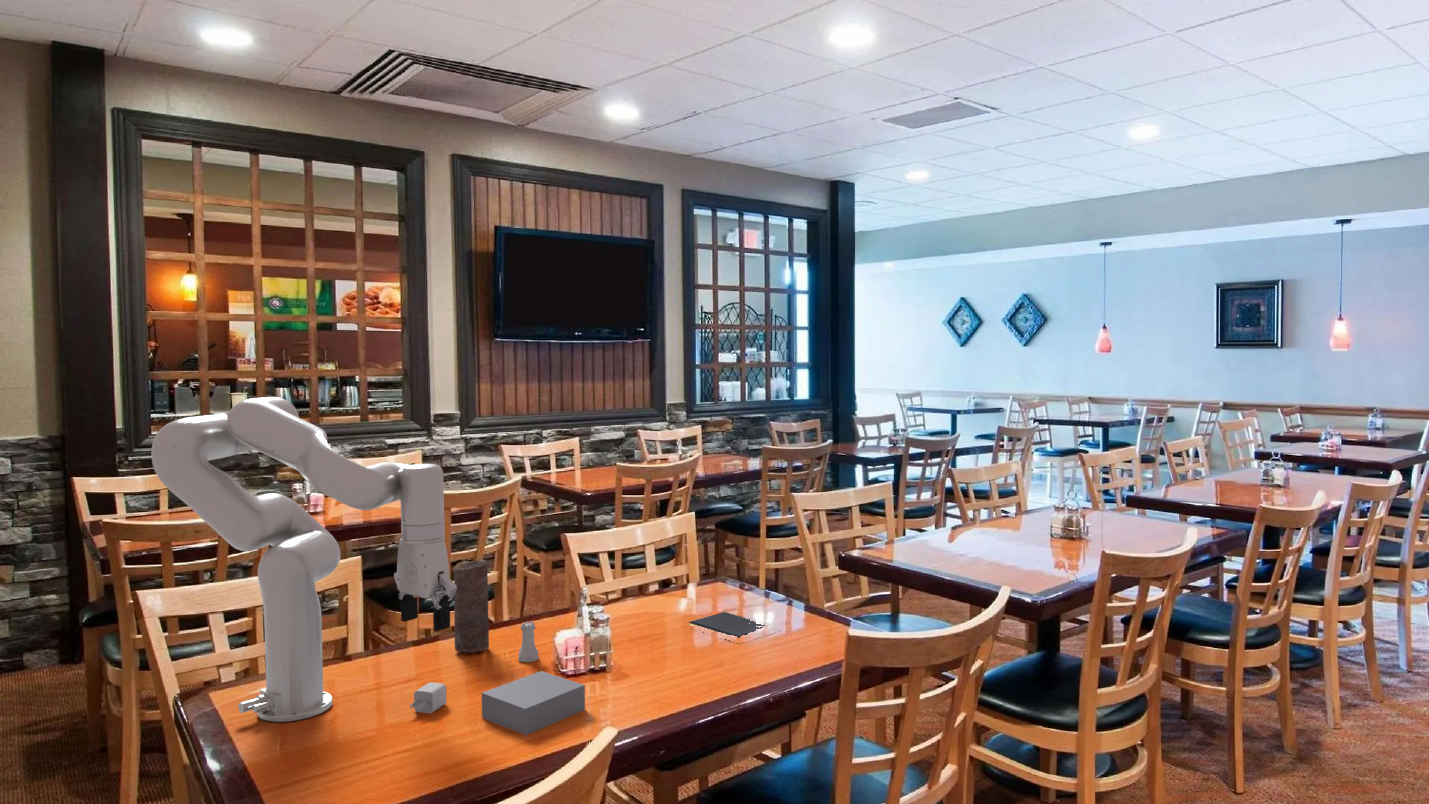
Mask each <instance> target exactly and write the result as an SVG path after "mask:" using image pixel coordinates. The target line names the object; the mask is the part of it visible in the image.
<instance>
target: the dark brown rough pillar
mask: <svg viewBox="0 0 1429 804" xmlns="http://www.w3.org/2000/svg"><path fill="white" fill-rule="evenodd" d="M488 566H489V565H488V562H487V560H485V559H484V560H483V559H482V560H472V561H461V562H458V563H456V565H455V566H454V567H453V571H454V572H453V580H454V581H453V583H454V584H455V585H456V586H457V589H456V592H455V595H454V597H455V598H454V600H453V601H454V613H453V615H454V623H453V624H454V649H455V651H456V652H458V653H467V654H468V653H477V652H481V651H484V650H488V649H489V647H490V642H489V641H490V638H489V637H490V629H489V625H490V624H489V585H488V584H489V583H488V580H489V579H488V578H489V577H488Z"/></svg>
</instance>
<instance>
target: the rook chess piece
mask: <svg viewBox="0 0 1429 804" xmlns="http://www.w3.org/2000/svg"><path fill="white" fill-rule="evenodd" d="M536 628H537V626H536V625H535V622H534V621H532V620H531V621H526V622H525V621H524V622H522V623H521V627H520V630H521V631H522V633H521V636H522V642H521V647H520V650H519V651H518V657H517V659H518V660H519V662H520V663H524V662H525V664H527V663H528V662H529V663H534V662H537V660H538V659H539V658H540V656H539V650H538V649H537V647H536V645H535V634H536V633H535V629H536ZM533 661H534V662H533ZM526 662H527V663H526Z"/></svg>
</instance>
